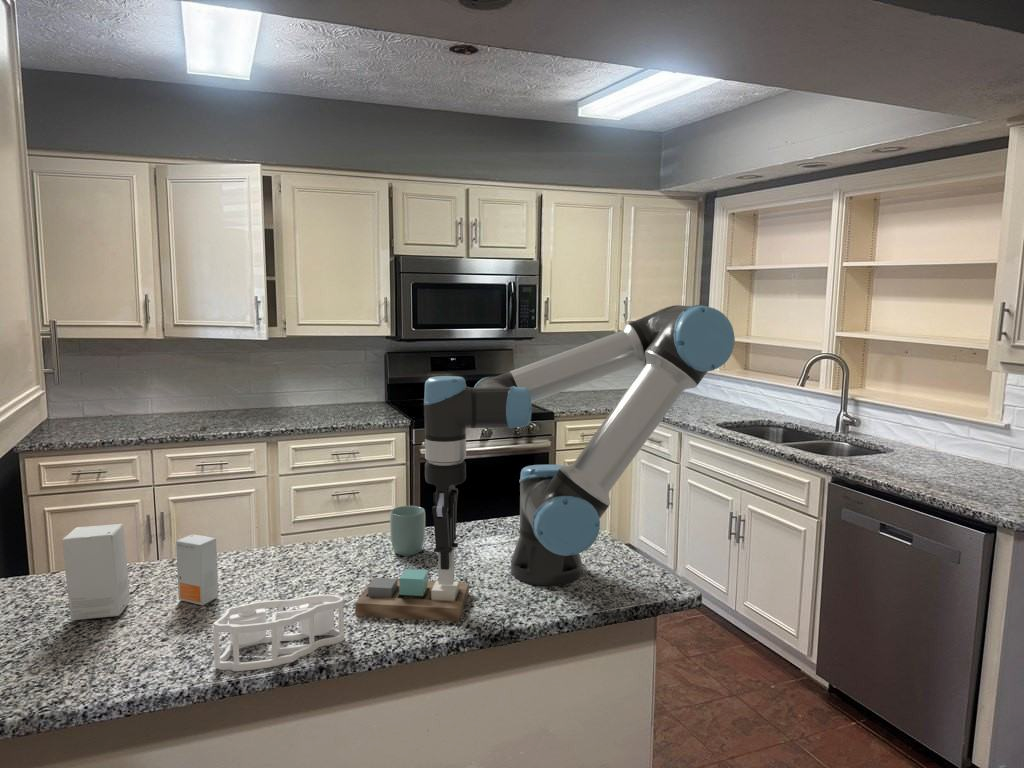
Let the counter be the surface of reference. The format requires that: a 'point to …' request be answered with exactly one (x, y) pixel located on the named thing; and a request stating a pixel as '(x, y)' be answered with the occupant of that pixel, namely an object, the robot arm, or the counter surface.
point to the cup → (407, 529)
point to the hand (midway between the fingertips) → (446, 582)
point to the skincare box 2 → (197, 569)
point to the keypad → (412, 605)
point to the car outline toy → (278, 629)
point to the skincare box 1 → (96, 571)
